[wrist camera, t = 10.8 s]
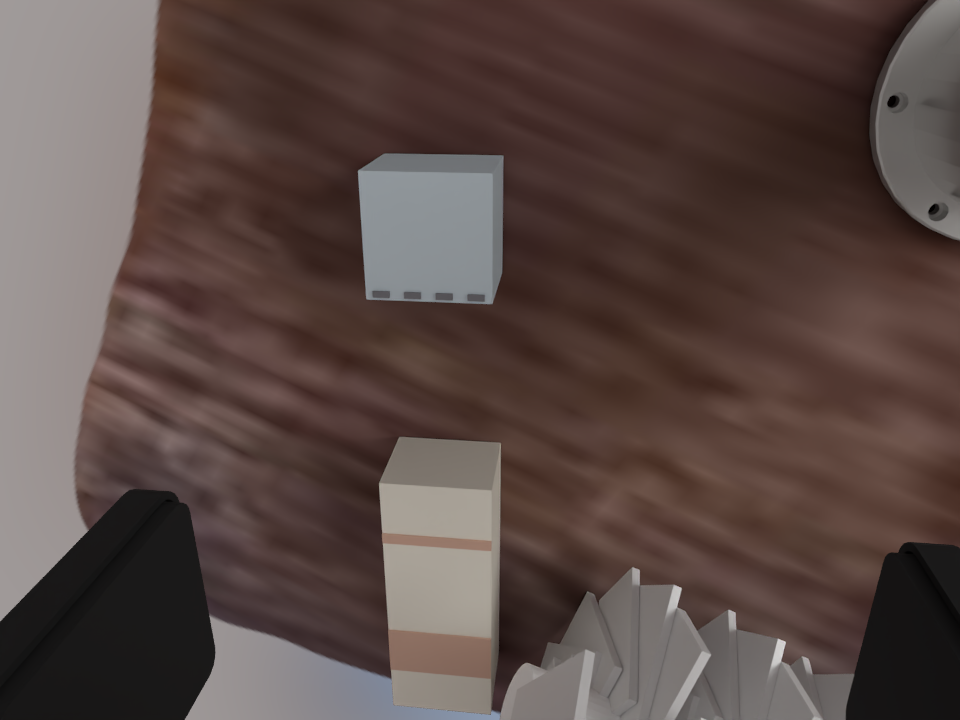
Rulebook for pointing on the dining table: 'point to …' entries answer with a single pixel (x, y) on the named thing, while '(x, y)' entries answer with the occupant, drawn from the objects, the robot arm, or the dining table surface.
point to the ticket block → (442, 571)
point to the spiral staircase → (667, 667)
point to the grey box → (432, 227)
